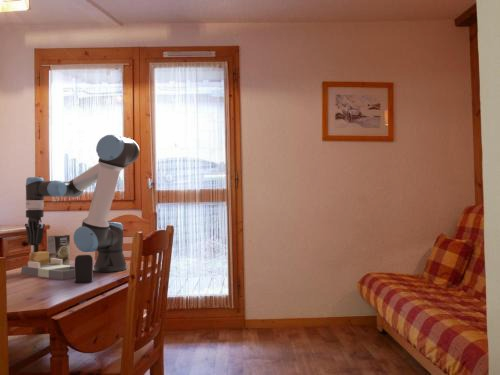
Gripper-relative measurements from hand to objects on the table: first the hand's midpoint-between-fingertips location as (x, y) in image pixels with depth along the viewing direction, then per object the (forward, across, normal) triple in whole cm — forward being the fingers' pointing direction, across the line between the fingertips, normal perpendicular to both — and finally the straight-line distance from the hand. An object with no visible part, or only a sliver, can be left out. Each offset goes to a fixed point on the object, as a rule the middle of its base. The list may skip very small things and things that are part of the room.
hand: (34, 258), depth 192 cm
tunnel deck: (+6, +15, 0) cm, 17 cm away
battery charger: (+7, +43, -4) cm, 44 cm away
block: (+3, +4, 0) cm, 5 cm away
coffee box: (+7, -3, +14) cm, 16 cm away
